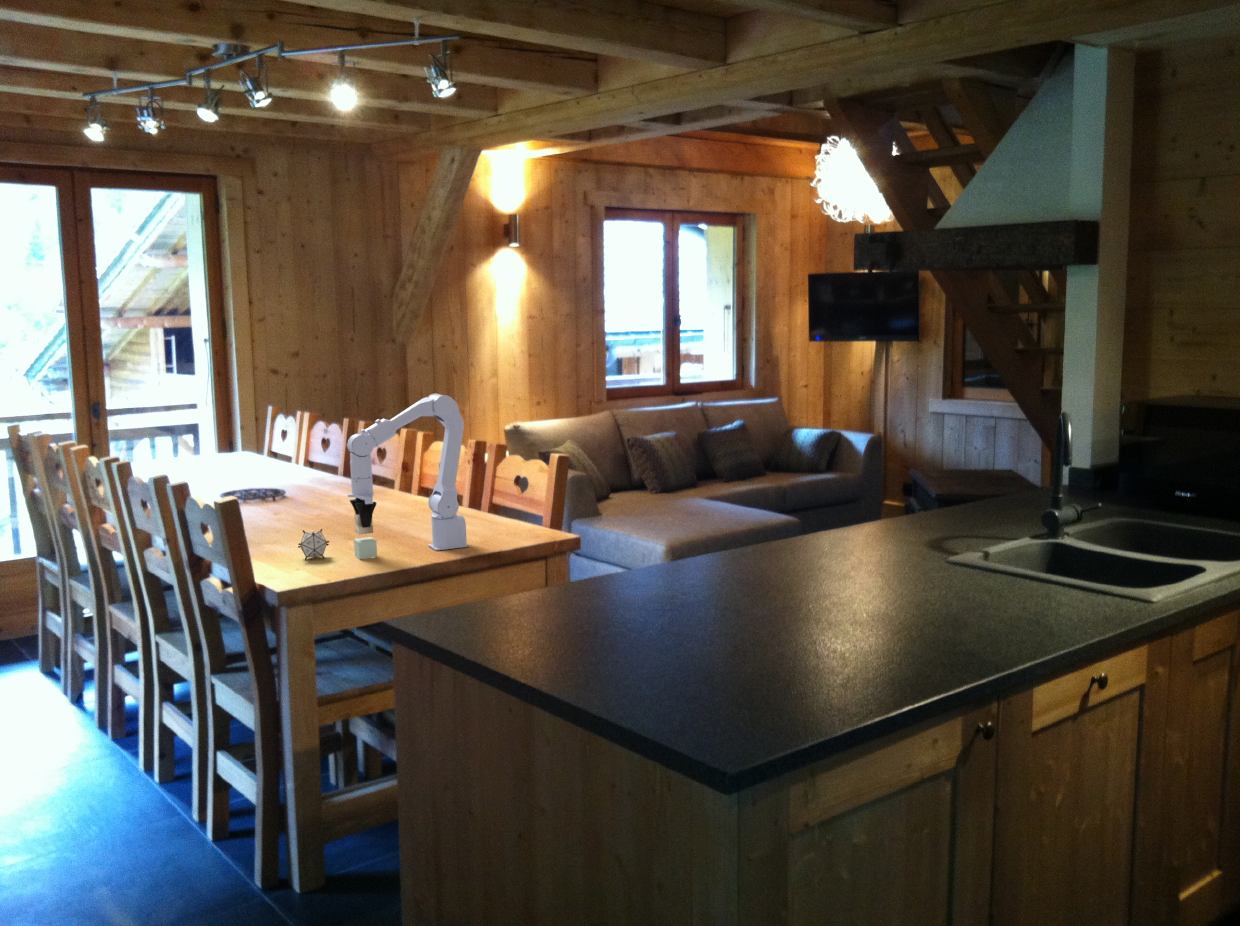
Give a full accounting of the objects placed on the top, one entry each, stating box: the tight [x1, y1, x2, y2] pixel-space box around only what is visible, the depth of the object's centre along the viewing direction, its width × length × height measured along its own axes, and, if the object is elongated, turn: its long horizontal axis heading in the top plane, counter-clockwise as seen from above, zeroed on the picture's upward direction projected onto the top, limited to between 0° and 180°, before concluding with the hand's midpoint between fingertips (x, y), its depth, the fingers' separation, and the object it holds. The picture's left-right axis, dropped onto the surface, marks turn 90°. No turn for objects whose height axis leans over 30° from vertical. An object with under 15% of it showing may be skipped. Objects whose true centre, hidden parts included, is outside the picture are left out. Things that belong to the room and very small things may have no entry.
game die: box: [297, 528, 330, 561], centre depth 302 cm, size 9×8×10 cm
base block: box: [353, 536, 378, 560], centre depth 303 cm, size 5×5×5 cm
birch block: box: [354, 514, 374, 535], centre depth 302 cm, size 4×4×5 cm
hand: (364, 525), depth 302 cm, fingers closed on birch block, 4 cm apart
